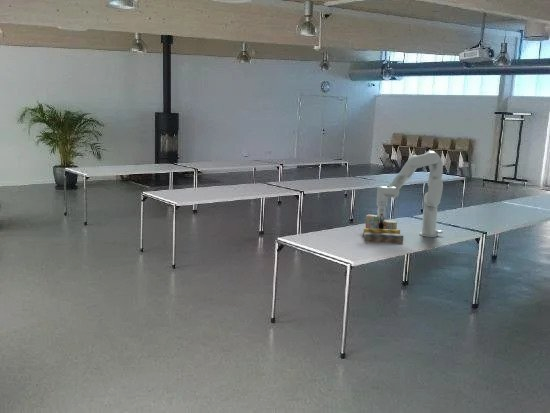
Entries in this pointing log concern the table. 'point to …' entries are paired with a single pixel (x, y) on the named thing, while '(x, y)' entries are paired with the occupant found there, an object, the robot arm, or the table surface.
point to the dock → (382, 235)
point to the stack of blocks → (373, 223)
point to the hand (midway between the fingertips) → (380, 227)
